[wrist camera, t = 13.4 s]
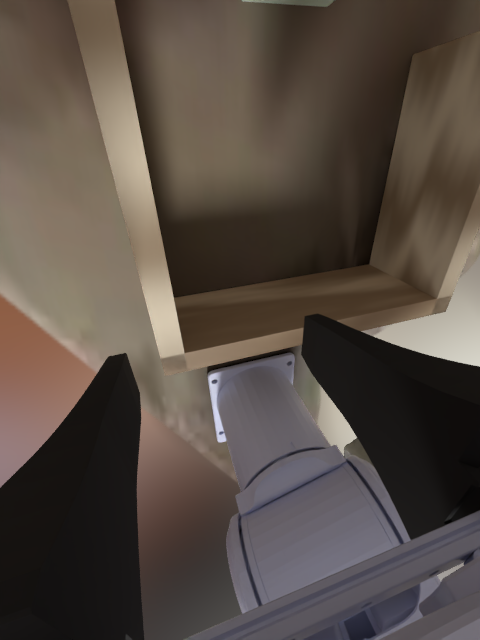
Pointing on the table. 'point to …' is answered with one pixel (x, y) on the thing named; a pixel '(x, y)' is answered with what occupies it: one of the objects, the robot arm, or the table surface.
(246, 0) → the sage block
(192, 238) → the table surface
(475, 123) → the open box
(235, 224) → the table surface
